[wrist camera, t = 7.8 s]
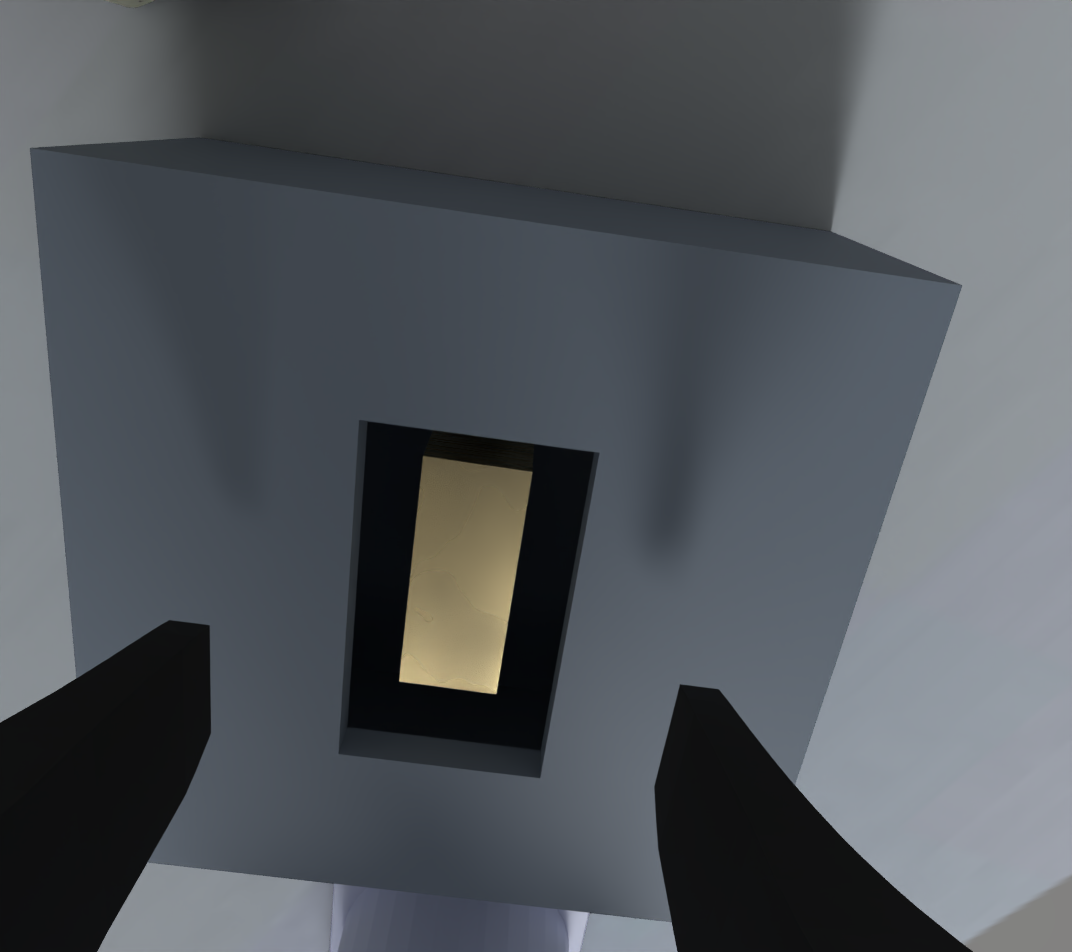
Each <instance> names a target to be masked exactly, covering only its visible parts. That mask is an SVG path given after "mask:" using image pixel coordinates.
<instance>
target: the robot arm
mask: <svg viewBox="0 0 1072 952" xmlns="http://www.w3.org/2000/svg"><path fill="white" fill-rule="evenodd" d="M210 735H211V685H210V625H205V624H197V623H189V622H181V621H173V620H168V621H167V622H165V623H163V624H162V625H160V626H158V627H157V628H155V629H153V630H152V631H150V632H149V633H147V634H145V635H144V636H142V637H141V638H139V639H138V640H136V641H134V642H133V643H131V644H130V645H128V646H127V647H125V648H124V649H122V650H121V651H119V652H117V653H116V654H114V655H113V656H111V657H110V658H108V659H107V660H105V661H103V662H102V663H100V664H99V665H97V666H95V667H94V668H92V669H91V670H89V671H87V672H86V673H84V674H83V675H81V676H79V677H78V678H76V679H75V680H73V681H71V682H70V683H68V684H67V685H65V686H63V687H62V688H60V689H59V690H57V691H55V692H54V693H52V694H50V695H48V696H46V697H45V698H43V699H41V700H39V701H38V702H36V703H34V704H32V705H31V706H29V707H27V708H25V709H24V710H22V711H20V712H18V713H17V714H15V715H13V716H11V717H9V718H8V719H6V720H4V721H2V722H1V723H0V952H97V951H98V949H99V947H100V945H101V943H102V942H103V940H104V938H105V936H106V934H107V932H108V930H109V928H110V927H111V925H112V923H113V921H114V920H115V918H116V916H117V914H118V913H119V911H120V909H121V908H122V906H123V904H124V902H125V901H126V899H127V897H128V895H129V894H130V892H131V890H132V888H133V887H134V885H135V883H136V881H137V880H138V878H139V876H140V874H141V873H142V871H143V869H144V868H145V866H146V864H147V862H148V861H149V859H150V857H151V855H152V854H153V852H154V850H155V848H156V847H157V845H158V843H159V841H160V840H161V838H162V836H163V834H164V833H165V831H166V829H167V827H168V826H169V824H170V822H171V820H172V819H173V817H174V815H175V813H176V811H177V810H178V808H179V806H180V804H181V802H182V801H183V799H184V797H185V795H186V793H187V791H188V788H189V786H190V784H191V781H192V779H193V777H194V774H195V772H196V770H197V767H198V765H199V762H200V760H201V757H202V755H203V752H204V750H205V747H206V745H207V742H208V740H209V737H210ZM654 793H655V811H656V827H657V840H658V851H659V857H660V862H661V868H662V873H663V878H664V884H665V889H666V894H667V900H668V905H669V910H670V915H671V920H672V926H673V931H674V936H675V941H676V946H677V951H678V952H973V951H971V950H970V949H969V948H967V947H966V946H965V945H963V944H962V943H961V942H959V941H958V940H957V939H956V938H954V937H953V936H952V935H951V934H949V933H948V932H947V931H946V930H945V929H943V928H942V927H941V926H940V925H938V924H937V923H936V922H935V921H933V920H932V919H931V918H930V917H929V916H927V915H926V914H925V913H924V912H922V911H921V910H920V909H919V908H917V907H916V906H915V905H914V904H913V903H912V902H910V901H909V900H908V899H907V898H906V897H905V896H904V895H902V894H901V893H900V892H899V891H898V890H897V889H896V888H894V887H893V886H892V885H891V884H890V883H889V882H888V881H887V880H886V879H885V878H884V877H883V876H882V875H880V874H879V873H878V872H877V871H876V870H875V869H874V868H873V867H872V866H871V865H870V864H869V863H868V862H867V861H866V860H864V859H863V858H862V857H861V856H860V855H859V854H858V853H857V852H856V851H855V850H854V849H853V848H852V847H851V846H850V845H849V844H848V843H847V842H846V841H845V840H844V839H843V838H842V837H841V836H840V835H839V834H838V833H837V831H836V830H835V829H834V828H833V827H832V826H831V825H830V824H829V823H828V822H827V821H826V820H825V819H824V817H823V816H822V815H821V814H820V813H819V812H818V811H817V810H816V809H815V808H814V807H813V806H812V804H811V803H810V802H809V801H808V800H807V799H806V798H805V796H804V795H803V794H802V793H801V792H800V791H799V790H798V788H797V787H796V786H795V785H794V784H793V782H792V781H791V780H790V779H789V778H788V777H787V775H786V774H785V773H784V772H783V770H782V769H781V768H780V767H779V766H778V764H777V763H776V762H775V761H774V759H773V758H772V757H771V756H770V754H769V753H768V752H767V751H766V749H765V748H764V747H763V746H762V744H761V743H760V742H759V740H758V739H757V738H756V737H755V735H754V734H753V733H752V731H751V730H750V729H749V727H748V726H747V725H746V724H745V722H744V721H743V720H742V718H741V717H740V716H739V714H738V713H737V712H736V710H735V709H734V708H733V706H732V705H731V704H730V703H729V701H728V700H727V699H726V697H725V696H724V695H723V694H722V692H721V691H720V690H719V689H714V688H706V687H698V686H690V685H682V684H680V686H679V690H678V694H677V698H676V702H675V706H674V710H673V714H672V718H671V722H670V726H669V730H668V734H667V738H666V742H665V746H664V750H663V754H662V758H661V762H660V766H659V770H658V774H657V777H656V781H655V785H654ZM589 914H590V913H587V912H578V911H569V910H561V909H552V908H543V907H534V906H526V905H517V904H508V903H499V902H490V901H482V900H473V899H464V898H455V897H447V896H438V895H429V894H420V893H412V892H403V891H394V890H385V889H377V888H368V887H359V886H350V885H341V884H334V887H333V903H332V918H331V934H330V950H329V952H581V949H582V944H583V940H584V936H585V931H586V927H587V923H588V918H589Z"/></svg>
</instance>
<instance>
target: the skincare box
mask: <svg viewBox="0 0 1072 952" xmlns="http://www.w3.org/2000/svg"><path fill="white" fill-rule="evenodd" d="M105 1H109V2H113V3H116V4H119V5H122V6H125V7H129V8H137V7H140V6H143V5H145V4H147V3H150V2H152V1H154V0H105Z"/></svg>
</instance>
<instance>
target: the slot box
mask: <svg viewBox="0 0 1072 952" xmlns="http://www.w3.org/2000/svg"><path fill="white" fill-rule="evenodd" d="M30 154H31V166H32V177H33V188H34V200H35V211H36V223H37V234H38V245H39V257H40V268H41V279H42V291H43V302H44V314H45V325H46V336H47V348H48V359H49V371H50V382H51V393H52V405H53V416H54V428H55V439H56V450H57V462H58V473H59V485H60V496H61V507H62V519H63V530H64V542H65V553H66V564H67V576H68V587H69V599H70V610H71V621H72V633H73V644H74V656H75V667H76V678H78V677H79V676H81V675H83V674H84V673H86V672H87V671H89V670H91V669H92V668H94V667H95V666H97V665H99V664H100V663H102V662H103V661H105V660H107V659H108V658H110V657H111V656H113V655H114V654H116V653H117V652H119V651H121V650H122V649H124V648H125V647H127V646H128V645H130V644H131V643H133V642H134V641H136V640H138V639H139V638H141V637H142V636H144V635H145V634H147V633H149V632H150V631H152V630H153V629H155V628H157V627H158V626H160V625H162V624H163V623H165V622H167V621H168V620H173V621H181V622H189V623H197V624H205V625H210V685H211V735H210V737H209V740H208V742H207V745H206V747H205V750H204V752H203V755H202V757H201V760H200V762H199V765H198V767H197V770H196V772H195V774H194V777H193V779H192V781H191V784H190V786H189V788H188V791H187V793H186V795H185V797H184V799H183V801H182V802H181V804H180V806H179V808H178V810H177V811H176V813H175V815H174V817H173V819H172V820H171V822H170V824H169V826H168V827H167V829H166V831H165V833H164V834H163V836H162V838H161V840H160V841H159V843H158V845H157V847H156V848H155V850H154V852H153V854H152V855H151V857H150V859H149V861H148V862H149V863H157V864H166V865H175V866H184V867H193V868H201V869H210V870H219V871H228V872H236V873H245V874H254V875H263V876H271V877H280V878H289V879H298V880H306V881H315V882H324V883H333V884H341V885H350V886H359V887H368V888H377V889H385V890H394V891H403V892H412V893H420V894H429V895H438V896H447V897H455V898H464V899H473V900H482V901H490V902H499V903H508V904H517V905H526V906H534V907H543V908H552V909H561V910H569V911H578V912H587V913H596V914H604V915H613V916H622V917H631V918H639V919H648V920H657V921H666V922H672V920H671V915H670V910H669V905H668V900H667V894H666V889H665V884H664V878H663V873H662V868H661V862H660V857H659V851H658V840H657V827H656V811H655V793H654V785H655V781H656V777H657V774H658V770H659V766H660V762H661V758H662V754H663V750H664V746H665V742H666V738H667V734H668V730H669V726H670V722H671V718H672V714H673V710H674V706H675V702H676V698H677V694H678V690H679V686H680V684H682V685H690V686H698V687H706V688H714V689H719V690H720V691H721V692H722V694H723V695H724V696H725V697H726V699H727V700H728V701H729V703H730V704H731V705H732V706H733V708H734V709H735V710H736V712H737V713H738V714H739V716H740V717H741V718H742V720H743V721H744V722H745V724H746V725H747V726H748V727H749V729H750V730H751V731H752V733H753V734H754V735H755V737H756V738H757V739H758V740H759V742H760V743H761V744H762V746H763V747H764V748H765V749H766V751H767V752H768V753H769V754H770V756H771V757H772V758H773V759H774V761H775V762H776V763H777V764H778V766H779V767H780V768H781V769H782V770H783V772H784V773H785V774H786V775H787V777H788V778H789V779H790V780H791V781H792V782H793V784H794V785H795V783H796V780H797V777H798V774H799V771H800V768H801V765H802V762H803V759H804V756H805V753H806V750H807V747H808V744H809V741H810V738H811V735H812V732H813V729H814V726H815V723H816V720H817V717H818V714H819V711H820V708H821V705H822V702H823V699H824V696H825V694H826V691H827V688H828V685H829V682H830V679H831V676H832V673H833V670H834V667H835V664H836V661H837V658H838V655H839V652H840V649H841V646H842V643H843V640H844V637H845V634H846V631H847V628H848V625H849V622H850V619H851V616H852V613H853V610H854V607H855V604H856V601H857V598H858V595H859V592H860V589H861V586H862V583H863V580H864V577H865V574H866V571H867V568H868V565H869V562H870V559H871V556H872V553H873V550H874V547H875V544H876V541H877V538H878V535H879V532H880V529H881V526H882V523H883V521H884V518H885V515H886V512H887V509H888V506H889V503H890V500H891V497H892V494H893V491H894V488H895V485H896V482H897V479H898V476H899V473H900V470H901V467H902V464H903V461H904V458H905V455H906V452H907V449H908V446H909V443H910V440H911V437H912V434H913V431H914V428H915V425H916V422H917V419H918V416H919V413H920V410H921V407H922V404H923V401H924V398H925V395H926V392H927V389H928V386H929V383H930V380H931V377H932V374H933V371H934V368H935V365H936V362H937V359H938V356H939V353H940V350H941V347H942V345H943V342H944V339H945V336H946V333H947V330H948V327H949V324H950V321H951V318H952V315H953V312H954V309H955V306H956V303H957V300H958V297H959V294H960V291H961V288H962V285H960V284H958V283H955V282H953V281H950V280H948V279H945V278H943V277H940V276H938V275H936V274H933V273H931V272H928V271H926V270H923V269H921V268H919V267H916V266H914V265H911V264H909V263H906V262H904V261H902V260H899V259H897V258H894V257H892V256H889V255H887V254H885V253H882V252H880V251H877V250H875V249H872V248H870V247H868V246H865V245H863V244H860V243H858V242H855V241H853V240H851V239H848V238H846V237H843V236H841V235H838V234H836V233H833V232H830V231H823V230H817V229H810V228H803V227H796V226H790V225H783V224H776V223H770V222H763V221H756V220H749V219H743V218H736V217H729V216H723V215H716V214H709V213H702V212H696V211H689V210H682V209H676V208H669V207H662V206H655V205H649V204H642V203H635V202H629V201H622V200H615V199H609V198H602V197H595V196H588V195H582V194H575V193H568V192H562V191H555V190H548V189H541V188H535V187H528V186H521V185H515V184H508V183H501V182H494V181H488V180H481V179H474V178H468V177H461V176H454V175H448V174H441V173H434V172H427V171H421V170H414V169H407V168H401V167H394V166H387V165H380V164H374V163H367V162H360V161H354V160H347V159H340V158H333V157H327V156H320V155H313V154H307V153H300V152H293V151H287V150H280V149H273V148H266V147H260V146H253V145H246V144H240V143H233V142H226V141H219V140H213V139H206V138H184V139H168V140H152V141H136V142H120V143H104V144H87V145H71V146H55V147H39V148H30ZM433 430H436V431H443V432H451V433H458V434H465V435H473V436H480V437H487V438H494V439H502V440H509V441H516V442H524V443H531V444H534V452H533V472H532V478H531V485H530V491H529V497H528V503H527V509H526V515H525V521H524V527H523V534H522V540H521V546H520V552H519V558H518V564H517V570H516V576H515V583H514V589H513V595H512V601H511V607H510V613H509V619H508V625H507V632H506V638H505V644H504V650H503V656H502V662H501V668H500V674H499V681H498V687H497V693H496V694H489V693H482V692H474V691H467V690H459V689H452V688H444V687H437V686H429V685H422V684H414V683H407V682H399V677H400V667H401V658H402V649H403V639H404V630H405V621H406V611H407V602H408V593H409V583H410V574H411V565H412V555H413V546H414V537H415V528H416V518H417V509H418V500H419V490H420V481H421V472H422V462H423V455H424V452H425V450H426V447H427V444H428V442H429V439H430V436H431V434H432V431H433Z"/></svg>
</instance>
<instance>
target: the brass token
mask: <svg viewBox="0 0 1072 952" xmlns="http://www.w3.org/2000/svg"><path fill="white" fill-rule="evenodd" d="M533 452H534V444H531V443H524V442H516V441H509V440H502V439H494V438H487V437H480V436H473V435H465V434H458V433H451V432H443V431H436V430H433V431H432V434H431V436H430V439H429V442H428V444H427V447H426V450H425V452H424V455H423V462H422V472H421V481H420V490H419V500H418V509H417V518H416V528H415V537H414V546H413V555H412V565H411V574H410V583H409V593H408V602H407V611H406V621H405V630H404V639H403V649H402V658H401V667H400V677H399V682H407V683H414V684H422V685H429V686H437V687H444V688H452V689H459V690H467V691H474V692H482V693H489V694H496V693H497V687H498V681H499V674H500V668H501V662H502V656H503V650H504V644H505V638H506V632H507V625H508V619H509V613H510V607H511V601H512V595H513V589H514V583H515V576H516V570H517V564H518V558H519V552H520V546H521V540H522V534H523V527H524V521H525V515H526V509H527V503H528V497H529V491H530V485H531V478H532V472H533Z"/></svg>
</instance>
